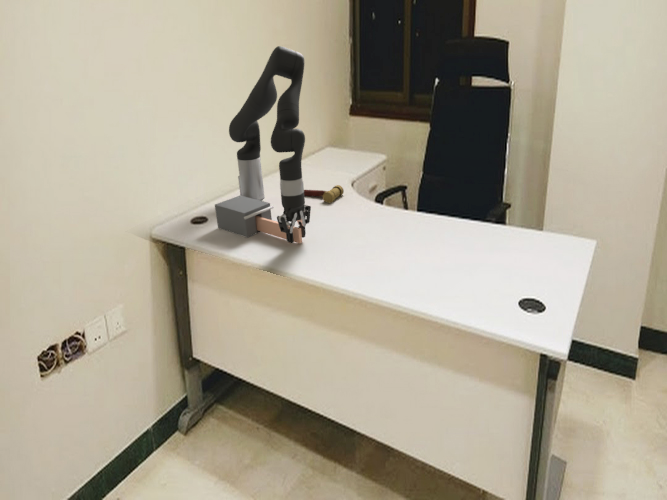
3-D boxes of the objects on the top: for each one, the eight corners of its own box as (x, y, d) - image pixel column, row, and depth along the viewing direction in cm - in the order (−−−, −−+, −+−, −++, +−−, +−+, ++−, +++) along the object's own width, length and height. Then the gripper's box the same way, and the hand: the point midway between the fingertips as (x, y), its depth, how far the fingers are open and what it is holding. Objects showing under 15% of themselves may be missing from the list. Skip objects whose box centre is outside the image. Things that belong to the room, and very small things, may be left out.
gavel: (287, 190, 232) (299, 183, 240) (288, 201, 233) (300, 193, 241) (332, 192, 222) (343, 185, 230) (333, 203, 224) (344, 195, 232)
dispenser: (217, 228, 205) (213, 205, 201) (244, 217, 214) (241, 194, 210) (248, 238, 195) (245, 214, 191) (275, 226, 203) (273, 203, 200)
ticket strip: (252, 229, 201) (251, 216, 199) (255, 228, 202) (253, 215, 200) (299, 243, 187) (298, 229, 185) (302, 242, 188) (301, 228, 186)
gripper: (299, 183, 188) (303, 230, 195) (268, 195, 179) (273, 244, 186) (315, 187, 184) (319, 235, 191) (284, 199, 174) (289, 249, 181)
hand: (296, 239), depth 188 cm, fingers open, 5 cm apart
